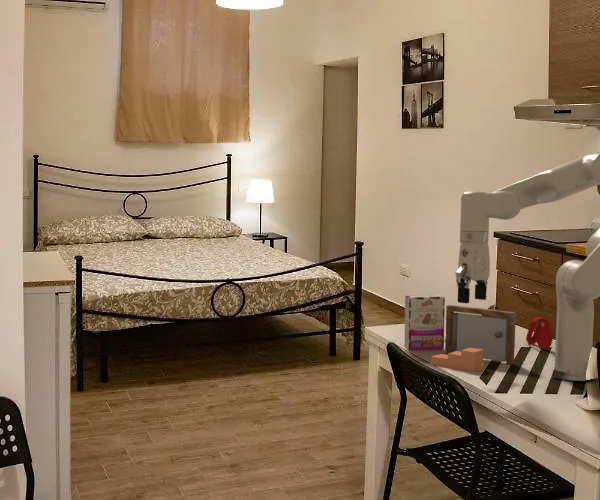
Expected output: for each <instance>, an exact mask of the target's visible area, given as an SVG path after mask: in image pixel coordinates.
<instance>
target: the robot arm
mask: <svg viewBox="0 0 600 500" xmlns="http://www.w3.org/2000/svg"><path fill="white" fill-rule="evenodd" d="M599 185H600V152H594V153H589V154H586V155H583V156H581V157H578V158H576V159H574V160H571V161H568V162H566V163H563V164H561V165H558V166H556V167H553V168H551V169H548V170H546V171H543V172H540V173H538V174H535V175H533V176H531V177H529V178H526V179H522V180H520V181H517V182H515V183H512V184H509V185H506V186H505V187H501V188H500V189H497V190H495V191H492V192H485V191H465V192H463V193H462V194H461V198H460V224H459V243H460V247H459V253H458V263H457V270H456V271H455V272H454V273H455V279H456V284H457V285H456V286H457V303H462V304H469V303H470V295H471V294H470V291H471V289H470V284H471V281H472V282H474V281H475V282H476V284H474V299H475V300H480V301H481V300H483V301H486V300H487V290H488V289H487V288H488V287H487V286H488V280H489V278H490V275H491V272H490V271H491V268H490V267H491V266H490V265H491V264H490V247H489V233H490V231H489V229H490V218H492V219H498V220H503V221H507V220H512V219H514V218H515V217H517V216H518V215H519V214H520V212H521V210H524V209H526V208H529V207H533V206H536V205H537V206H538V205H541V204H548V203H550V204H551V203H553V202H557V201H561V200H563V199H565V198H568V197H571V196H573V195H576V194H578V193H580V192H583V191H586V190H588V189H589V190H590V188H594V187H596V186H599ZM584 249H585V255H586V256H587V257H586V258H585V259H584V260H579V259H571V260H568V261H565V262H564V263H563V264H562V265H560V267H559V268H558V269H557V272H556V276H555V290H556V323H555V324H556V325H555V327H556V328H555V351H554V356H555V357H554V370H556V372H557V371H558V372H561V374H559V375H557V376H555V377H554V378H556V379H558V380H559V379H560V380H564V381H565V380H566V381H575V382H587V381H586V370H587V365H588V359H589V356H590V352H591V350H592V351H593V338H594V335H593V334H594V319H595V306H594V305H595V304H594V300H595V299H598V298H600V227H598V229H596V231H595V232H594V233H593V234H592V235H591V236H590V237H589V239H588V240H587V241H586V244H585V248H584Z"/></svg>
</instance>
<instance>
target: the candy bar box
mask: <svg viewBox="0 0 600 500" xmlns="http://www.w3.org/2000/svg"><path fill="white" fill-rule="evenodd" d="M445 298H446V297H445V296H443V295H441V294H433V295H432V294H431V295H430V294H427V295H425V294H424V295H405V296H404V345H403V346H404V348H405V349H407V350H408V351H445V342H444V333H445V312H446V311H445V308H446V307H445V305H446V304H445V303H446V302H445V301H446V299H445Z"/></svg>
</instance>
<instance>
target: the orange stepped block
mask: <svg viewBox="0 0 600 500" xmlns="http://www.w3.org/2000/svg"><path fill="white" fill-rule="evenodd" d="M431 365H433V366H439V367H444V368H445V367H446V368H451V369H457V370H462V371H463V370H464V371H468V372H477V371H480V370H483V368H484V359H483V349H476V348H467V349H464V350H461V352H460V351H455V352H452V353H448V355H445V353H444V354H443V353H439V354H436V355H432V356H431Z"/></svg>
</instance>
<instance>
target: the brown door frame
mask: <svg viewBox="0 0 600 500" xmlns="http://www.w3.org/2000/svg"><path fill="white" fill-rule="evenodd" d="M445 308H446V311H445V312H446V313H445V317H446V318H445V333H446V338H445V342H444V354H445V355H448V353H452V343H453V313H464V314H472V315H480V316H481V315H487V316H496V317H504V318H505V319H508V329H507V355H506V362H505V365H509V366H512V365H514V364H515V344H516V340H515V339H516V319H517V312H516V311H507V310H506V311H505V310H500V309H499V310H491V309H488V308H481V307H472V306H464V305H463V306H462V305H455V304H448V305H446V307H445Z"/></svg>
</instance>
